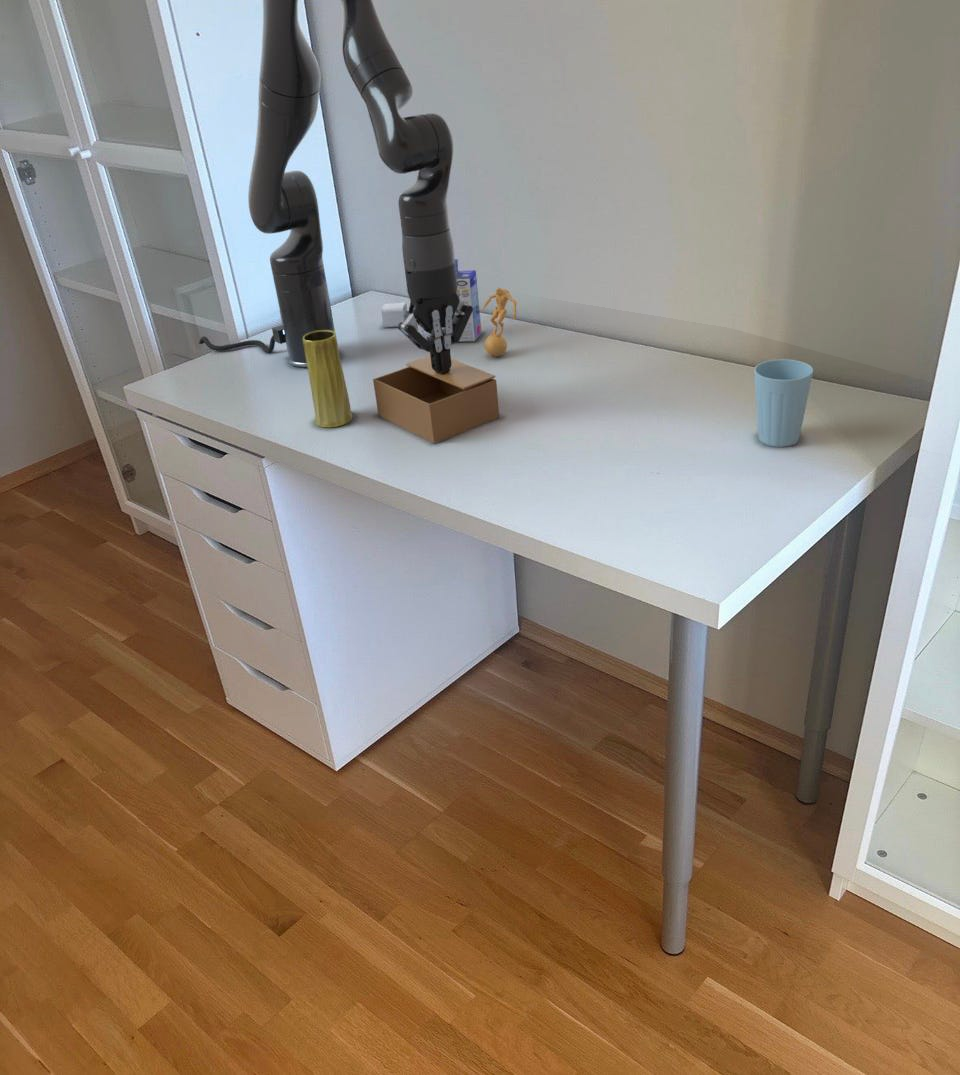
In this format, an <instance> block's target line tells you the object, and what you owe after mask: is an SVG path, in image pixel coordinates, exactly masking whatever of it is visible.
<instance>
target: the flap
mask: <svg viewBox="0 0 960 1075" xmlns="http://www.w3.org/2000/svg"><path fill="white" fill-rule="evenodd" d="M451 363H452V365H451V368H450V372H448V373H445V374H442V375H441V374H439V373H436V372H435V370H433V369H432V365H431V357H430V354H429V355H427V356H424V357H421V358H419V359H415V360H413V361H410V362H407V363H405V366H406V367H411V368H413V369H416V370H418V371H420V372H423V373H425V374H428V375H430V376H432V377H435V378H437V379H439V380H442V381H444V382H447V383H449V384H451V385H454V386H456V387H459V388H461V389H463V390H464V389H466V388H469V387H471V386H474V385H477V384H479V383H482V382H484V381H487V380H490V379H492V378H493V379H495V378H496V375H495V374H492V373H490V372H487V371H484V370H482V369H480V368H477V367H474V366H471V365H469V364H467V363H463V362H461V361H459V360H456V359H453V358H451Z"/></svg>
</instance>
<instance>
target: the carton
mask: <svg viewBox="0 0 960 1075" xmlns="http://www.w3.org/2000/svg"><path fill="white" fill-rule="evenodd" d="M372 382H373V389H374V395H375V396H374V397H375V401H376V408H377V415H378V417H380V418H382V419H384V420H386V421H388V422H390V423H391V424H394V425H396V426H398V427H400V428H402V429H404V430H406V431H408V432H410V433H412V434H414V435H415V436H418V437H420V438H421V439H424V440H426V441H427V442H430V443H432V444H434V445H435V444H437V443H439V442H443V441H444V440H448V439H450V438H451V437H455V436H457V435H459V434H462V433H465V432H467V431H469V430H472V429H474V428H476V427H477V428H478V427H479V426H482V425H484V424H487V423H489V422H492V421H494V420H497V419H499V418H500V409H499V397H498V386H497V385H498V384H497V379H495V378H492V379H490V380H487V381H484V382H482V383H479V384H477V385H474V386H471V387H469V388H466V389H464V390H463V389H461V388H459V387H456V386H454V385H451V384H449V383H447V382H444V381H442V380H439V379H437V378H435V377H432V376H430V375H428V374H425V373H423V372H420V371H418V370H416V369H413V368H411V367H408V366H406V367H404V368H401V369H398V370H396V371H395V370H394V371H393V372H389V373H386V374H384V375H381V376H378V377H376V378H372Z"/></svg>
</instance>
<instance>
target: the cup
mask: <svg viewBox="0 0 960 1075" xmlns="http://www.w3.org/2000/svg"><path fill="white" fill-rule="evenodd" d="M753 373H754V387H755V388H754V390H755V404H756V420H757V422H756V423H757V434H758V435H757V436H758V440H759V442H761V443H762V444H763V445H766V446H769V447H773V448H774V447H775V448H776V447H777V448H784V447H790V446H793V445H795V444H797V443H798V442H799V440H800V438H801V432H802V427H803V422H804V418H805V412H806V408H807V403H808V397H809V393H810V389H811V385H812V384H811V383H812V378H813V374H814V368H813V367H812V365H810V364H809V363H807V362H804V361H801V360H797V359H785V358H784V359H783V358H782V359H778V358H777V359H771V360H770V359H769V360H766V361H762V362H761V363H758V364H756V365H755V367H754V369H753Z"/></svg>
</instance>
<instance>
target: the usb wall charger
mask: <svg viewBox="0 0 960 1075" xmlns="http://www.w3.org/2000/svg"><path fill="white" fill-rule="evenodd" d="M409 315H410V314H409V310H408V306H407V302H395V303H394V302H393V303H392V302H391V303H383V305H382V307H381V317H382V325H383V328H385V329H386V328H387V329H388V328H398V324H399V323H400V322H403V323H404V322H405V320H406V319H407V318H408V316H409Z"/></svg>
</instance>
